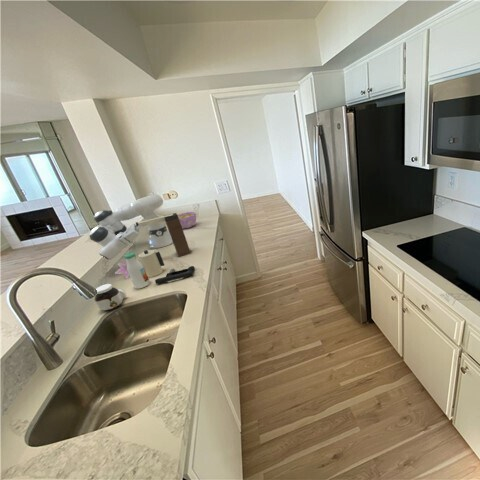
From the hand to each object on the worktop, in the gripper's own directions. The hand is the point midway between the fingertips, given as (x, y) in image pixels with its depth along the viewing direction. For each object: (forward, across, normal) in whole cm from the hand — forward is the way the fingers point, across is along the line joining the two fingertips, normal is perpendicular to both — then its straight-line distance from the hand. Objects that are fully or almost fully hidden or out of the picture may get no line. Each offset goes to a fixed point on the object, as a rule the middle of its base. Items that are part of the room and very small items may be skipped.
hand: (142, 223), depth 171 cm
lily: (-28, +10, -16) cm, 34 cm away
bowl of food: (+13, -65, -40) cm, 77 cm away
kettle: (-17, +20, -23) cm, 35 cm away
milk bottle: (-23, +32, -19) cm, 44 cm away
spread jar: (-34, +44, -13) cm, 57 cm away
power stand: (+1, 0, -33) cm, 33 cm away
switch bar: (+6, 0, -6) cm, 8 cm away
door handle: (-7, +35, -28) cm, 46 cm away
